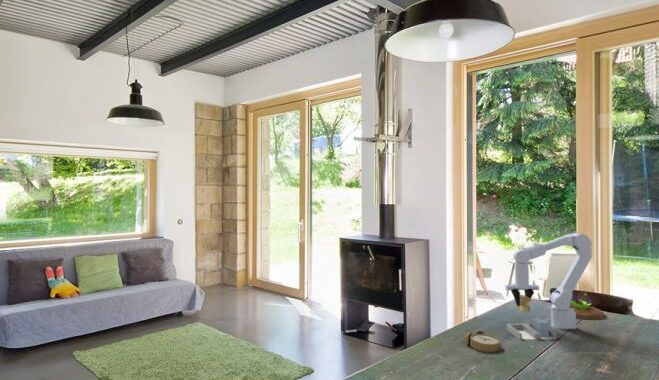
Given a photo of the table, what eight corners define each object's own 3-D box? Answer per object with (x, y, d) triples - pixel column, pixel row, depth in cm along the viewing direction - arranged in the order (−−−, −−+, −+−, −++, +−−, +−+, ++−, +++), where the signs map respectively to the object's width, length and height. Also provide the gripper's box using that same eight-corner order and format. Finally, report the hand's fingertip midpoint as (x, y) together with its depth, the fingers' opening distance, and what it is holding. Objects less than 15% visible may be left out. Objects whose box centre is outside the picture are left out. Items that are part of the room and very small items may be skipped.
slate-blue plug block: (541, 331, 186) (540, 317, 186) (548, 336, 179) (548, 322, 179) (532, 331, 186) (532, 317, 187) (540, 336, 179) (539, 322, 180)
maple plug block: (523, 307, 200) (523, 294, 201) (529, 311, 193) (529, 298, 194) (515, 307, 201) (515, 294, 201) (521, 311, 194) (521, 298, 194)
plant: (610, 321, 204) (609, 297, 205) (565, 319, 209) (564, 295, 209) (594, 310, 224) (594, 288, 224) (553, 308, 228) (553, 287, 228)
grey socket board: (541, 330, 190) (540, 323, 190) (556, 341, 176) (556, 333, 176) (506, 330, 191) (506, 323, 191) (519, 341, 177) (519, 333, 177)
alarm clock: (487, 347, 163) (458, 329, 176) (485, 359, 164) (456, 340, 177) (506, 341, 169) (477, 325, 182) (505, 353, 169) (475, 336, 182)
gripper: (534, 274, 201) (534, 303, 201) (502, 274, 202) (503, 303, 201) (540, 277, 194) (541, 307, 194) (508, 277, 194) (509, 307, 194)
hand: (522, 305), depth 197 cm, fingers closed on maple plug block, 4 cm apart
